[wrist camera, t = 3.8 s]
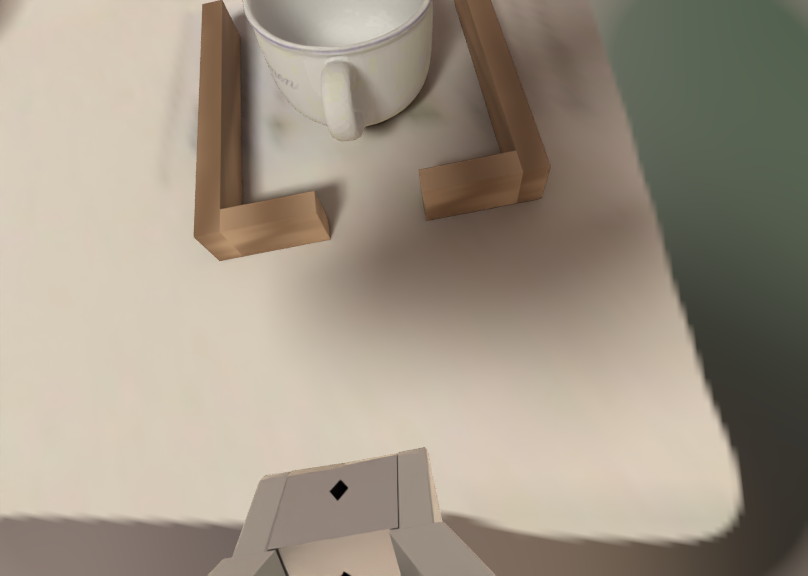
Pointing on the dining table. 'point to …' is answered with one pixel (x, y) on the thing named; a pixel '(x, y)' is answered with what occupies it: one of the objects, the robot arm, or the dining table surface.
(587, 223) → the dining table surface
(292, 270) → the dining table surface
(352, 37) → the teacup
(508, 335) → the dining table surface
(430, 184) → the wooden l-brackets
